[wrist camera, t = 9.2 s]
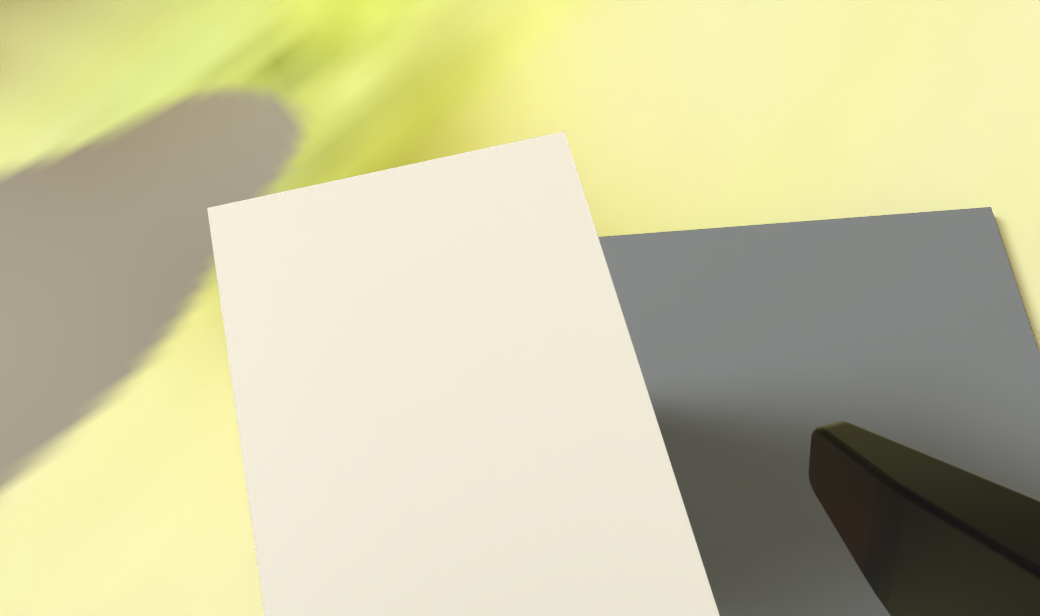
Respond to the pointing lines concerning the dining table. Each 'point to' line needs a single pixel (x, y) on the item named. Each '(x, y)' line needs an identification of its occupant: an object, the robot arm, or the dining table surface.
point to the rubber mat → (823, 379)
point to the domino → (447, 399)
